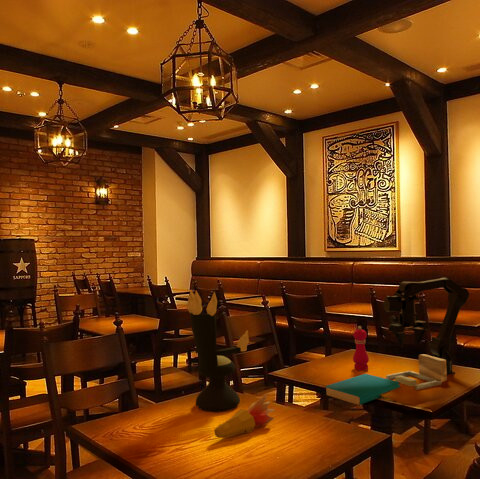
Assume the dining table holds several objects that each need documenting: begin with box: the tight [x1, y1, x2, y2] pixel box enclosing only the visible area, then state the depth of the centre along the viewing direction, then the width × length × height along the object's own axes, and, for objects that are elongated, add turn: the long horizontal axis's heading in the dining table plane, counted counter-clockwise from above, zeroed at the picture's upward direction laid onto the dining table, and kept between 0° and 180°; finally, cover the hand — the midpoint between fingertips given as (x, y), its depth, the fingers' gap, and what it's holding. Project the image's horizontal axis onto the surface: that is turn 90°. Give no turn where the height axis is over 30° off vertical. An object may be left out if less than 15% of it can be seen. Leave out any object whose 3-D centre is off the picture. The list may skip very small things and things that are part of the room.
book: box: [325, 373, 401, 406], centre depth 192 cm, size 17×4×25 cm
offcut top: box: [394, 375, 418, 387], centre depth 198 cm, size 3×8×2 cm, turn 32°
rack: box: [385, 370, 443, 391], centre depth 199 cm, size 13×17×3 cm
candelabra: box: [186, 289, 250, 413], centre depth 181 cm, size 19×22×45 cm
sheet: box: [418, 353, 448, 383], centre depth 204 cm, size 3×12×10 cm, turn 25°
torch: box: [214, 393, 275, 439], centre depth 158 cm, size 8×8×25 cm
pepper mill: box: [352, 325, 370, 371], centre depth 227 cm, size 7×7×20 cm
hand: (409, 346), depth 212 cm, fingers open, 9 cm apart
